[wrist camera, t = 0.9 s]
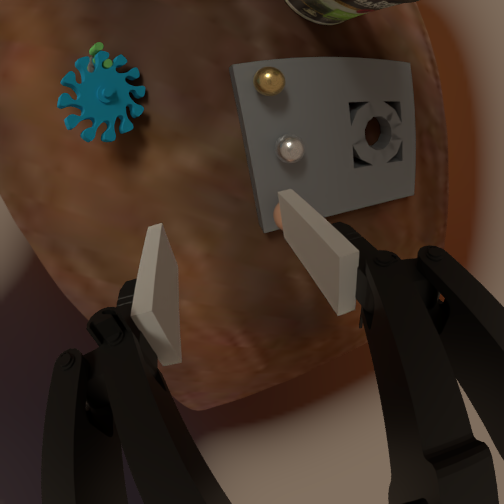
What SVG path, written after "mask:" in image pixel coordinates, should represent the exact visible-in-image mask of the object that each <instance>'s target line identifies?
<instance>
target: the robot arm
mask: <svg viewBox="0 0 504 504" xmlns="http://www.w3.org/2000/svg"><path fill="white" fill-rule="evenodd" d="M278 198H279V205H280V212H281V219H282V226H283V233H284V238H285V239H286V241H287V242H288V244H289V245H290V246H291V248H292V249H293V251H294V252H295V254H296V255H297V257H298V258H299V259H300V261H301V262H302V264H303V265H304V267H305V268H306V270H307V271H308V272H309V274H310V275H311V277H312V278H313V280H314V281H315V283H316V284H317V286H318V287H319V289H320V290H321V292H322V293H323V294H324V296H325V297H326V299H327V300H328V302H329V303H330V305H331V306H332V308H333V309H334V311H335V312H336V314H337V316H340V315H342V314H345V313H348V312H350V311H353V310H355V304H356V299H357V300H358V302H359V303H360V304H361V305H362V307H361V315H360V322H359V328H362V324H364V328H365V332H366V336H367V340H368V344H369V348H370V352H371V356H372V361H373V365H374V370H375V374H376V379H377V384H378V389H379V394H380V399H381V405H382V410H383V416H384V422H385V428H386V435H387V441H388V449H389V457H390V466H391V483H390V486H389V493H388V495H389V497H388V499H389V504H499V501H498V491H497V483H496V476H495V470H494V465H493V459H492V455H491V452H490V450H489V447H488V446H487V445H486V444H485V443H484V442H481V441H479V440H476V438H475V437H474V436H473V433H472V429H471V425H470V422H469V418H468V414H467V411H466V408H465V404H464V401H463V398H462V395H461V392H460V389H459V386H458V383H457V380H458V381H459V383H460V385H461V387H462V388H463V390H464V391H465V393H466V394H467V396H468V398H469V400H470V401H471V403H472V405H473V406H474V408H475V410H476V411H477V413H478V415H479V417H480V418H481V420H482V422H483V423H484V426H485V427H486V429H487V431H488V433H489V435H490V437H491V439H492V440H493V443H494V444H495V446H496V448H497V450H498V451H499V453H500V455H501V457H502V458H503V460H504V307H503V306H502V305H501V304H500V303H499V302H498V301H497V300H496V299H495V298H494V297H493V295H492V294H491V293H490V292H489V291H488V290H487V289H486V288H485V287H484V286H483V285H482V284H481V283H480V282H479V281H478V280H476V279H475V278H474V277H473V276H472V275H471V274H470V273H469V272H468V271H467V270H466V269H465V268H464V267H463V266H462V265H461V264H459V263H458V262H457V261H456V260H455V259H454V258H453V257H452V256H451V255H449V254H448V253H447V252H446V251H445V250H443V249H442V248H439V247H437V246H424V247H422V248H420V250H419V251H418V256H417V258H415V259H405V260H401V259H400V258H399V257H398V256H397V255H396V254H394V253H393V252H390V251H385V250H377V249H376V248H375V247H373V246H372V245H371V244H370V243H369V242H368V241H367V240H366V239H364V238H363V237H361V235H360V234H359V233H358V232H356V231H355V230H354V229H353V228H352V227H351V226H349V225H347V224H344V223H342V222H337V223H333V224H330V223H329V222H328V221H327V220H326V219H325V218H324V217H323V216H321V215H320V214H319V213H318V212H317V211H316V210H315V209H314V208H313V207H311V206H310V205H309V204H308V203H307V202H306V201H305V200H304V199H302V198H301V197H300V196H299V195H298V194H297V193H296V192H294V191H293V190H292V189H288V190H284V191H280V192H278ZM440 293H441V294H442V295H443V297H444V298H445V300H444V302H442V301H441V300H440V299H439V296H440ZM118 299H119V300H118V301H117V307H116V308H115V307H107V308H104V309H101V310H100V311H98V312H96V313H95V314H94V315H93V316H92V317H91V318H90V320H89V322H88V323H87V330H88V332H89V333H90V334H91V336H92V337H93V339H94V340H95V341H96V343H97V344H98V345H99V347H98V348H97V349H95V350H93V351H91V352H89V353H87V354H85V355H82V353H81V352H80V351H79V350H77V349H68V350H66V351H64V352H63V353H62V354H61V355H60V356H59V357H58V358H57V360H56V362H55V365H54V369H53V374H52V379H51V384H50V389H49V395H48V402H47V409H46V415H45V423H44V433H43V446H42V466H41V467H42V468H41V489H42V504H128V500H127V494H126V487H125V480H124V471H123V461H122V449H121V445H122V448H123V451H124V454H125V457H126V459H127V462H128V465H129V468H130V471H131V473H132V476H133V478H134V481H135V483H136V486H137V488H138V491H139V493H140V495H141V498H142V500H143V502H144V504H231V502H230V500H229V499H228V497H227V496H226V494H225V493H224V491H223V490H222V488H221V487H220V485H219V483H218V482H217V480H216V479H215V477H214V475H213V474H212V472H211V470H210V469H209V467H208V466H207V464H206V462H205V460H204V459H203V457H202V455H201V453H200V451H199V450H198V448H197V446H196V444H195V442H194V440H193V439H192V437H191V435H190V433H189V431H188V429H187V427H186V425H185V423H184V421H183V419H182V417H181V415H180V413H179V411H178V409H177V407H176V404H175V402H174V400H173V398H172V396H171V393H170V391H169V389H168V387H167V384H166V382H165V380H164V377H163V375H162V373H161V372H160V371H159V369H158V368H157V358H158V359H159V361H160V362H161V364H162V365H163V366H167V365H171V364H176V363H181V362H182V357H181V341H180V322H179V292H178V265H177V262H176V260H175V257H174V254H173V252H172V249H171V246H170V244H169V241H168V238H167V235H166V233H165V230H164V227H163V224H162V223H160V224H157V225H153V226H150V227H148V230H147V235H146V239H145V243H144V247H143V252H142V256H141V261H140V266H139V271H138V276H137V279H133V280H130V281H126V282H125V284H124V285H123V287H122V288H121V289H120V293H119V297H118ZM456 379H457V380H456Z"/></svg>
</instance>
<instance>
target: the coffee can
mask: <svg viewBox="0 0 504 504" xmlns="http://www.w3.org/2000/svg"><path fill="white" fill-rule="evenodd" d="M285 1H286V3H287V4H288V5H289V6H290V7H291V9H293V10H294V11H295V12H296V13H297V14H299V15H300V16H302V17H303V18H305V19H307V20H309V21H312V22H314V23H318V24H323V25H335V24H339V23H342V22H344V21H346V20H348V19H351V18H354V17H357V16H360V15H363V14H366V13H369V12H372V11H375V10H379V9H383V8H386V7H390V6H394V5H398V4H402V3H410V2H416V1H419V0H285Z"/></svg>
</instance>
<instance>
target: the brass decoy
mask: <svg viewBox="0 0 504 504" xmlns="http://www.w3.org/2000/svg"><path fill="white" fill-rule="evenodd" d="M285 83H286V81H285V76H284V74H283V73H282V72H281V71H280V70H279V69H277V68H275V67H263V68H261V69H259V70H258V71H257V72H256V73H255V75H254V78H253V85H254V87H255V89H256V90H257V91H258V92H259V93H260V94H262V95H265V96H274V95H277V94H279V93H280V92H281V91H282V90H283V89H284V87H285Z"/></svg>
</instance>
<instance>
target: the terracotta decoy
mask: <svg viewBox="0 0 504 504" xmlns="http://www.w3.org/2000/svg"><path fill="white" fill-rule="evenodd" d="M273 218H274V221H275V224H276V225H277V227H278V228H279V229H281V230H282V231H283V226H282V219H281V212H280V205H279V203H278V204H277V205H276V207H275V209H274V213H273Z"/></svg>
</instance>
